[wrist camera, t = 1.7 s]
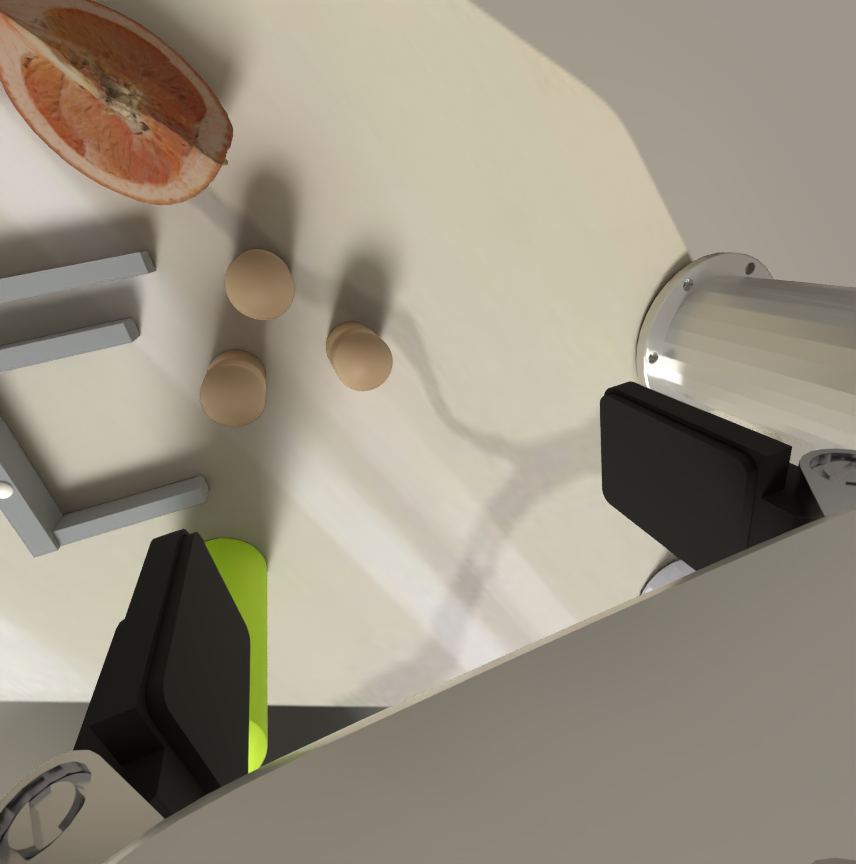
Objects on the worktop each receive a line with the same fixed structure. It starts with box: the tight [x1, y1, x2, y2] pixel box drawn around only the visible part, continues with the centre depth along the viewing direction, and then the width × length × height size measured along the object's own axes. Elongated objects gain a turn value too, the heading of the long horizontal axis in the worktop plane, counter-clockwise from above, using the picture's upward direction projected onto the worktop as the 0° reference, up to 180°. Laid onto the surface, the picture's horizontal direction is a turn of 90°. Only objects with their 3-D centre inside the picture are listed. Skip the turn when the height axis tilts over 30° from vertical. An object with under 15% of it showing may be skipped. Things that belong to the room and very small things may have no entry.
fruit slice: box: [0, 0, 233, 205], centre depth 20 cm, size 8×7×5 cm
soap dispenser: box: [204, 538, 267, 773], centre depth 24 cm, size 6×7×20 cm
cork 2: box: [200, 350, 266, 427], centre depth 26 cm, size 3×3×4 cm
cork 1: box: [225, 249, 295, 320], centre depth 25 cm, size 3×3×4 cm
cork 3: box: [326, 322, 393, 391], centre depth 28 cm, size 3×3×4 cm
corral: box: [0, 317, 209, 557], centre depth 26 cm, size 9×11×2 cm
